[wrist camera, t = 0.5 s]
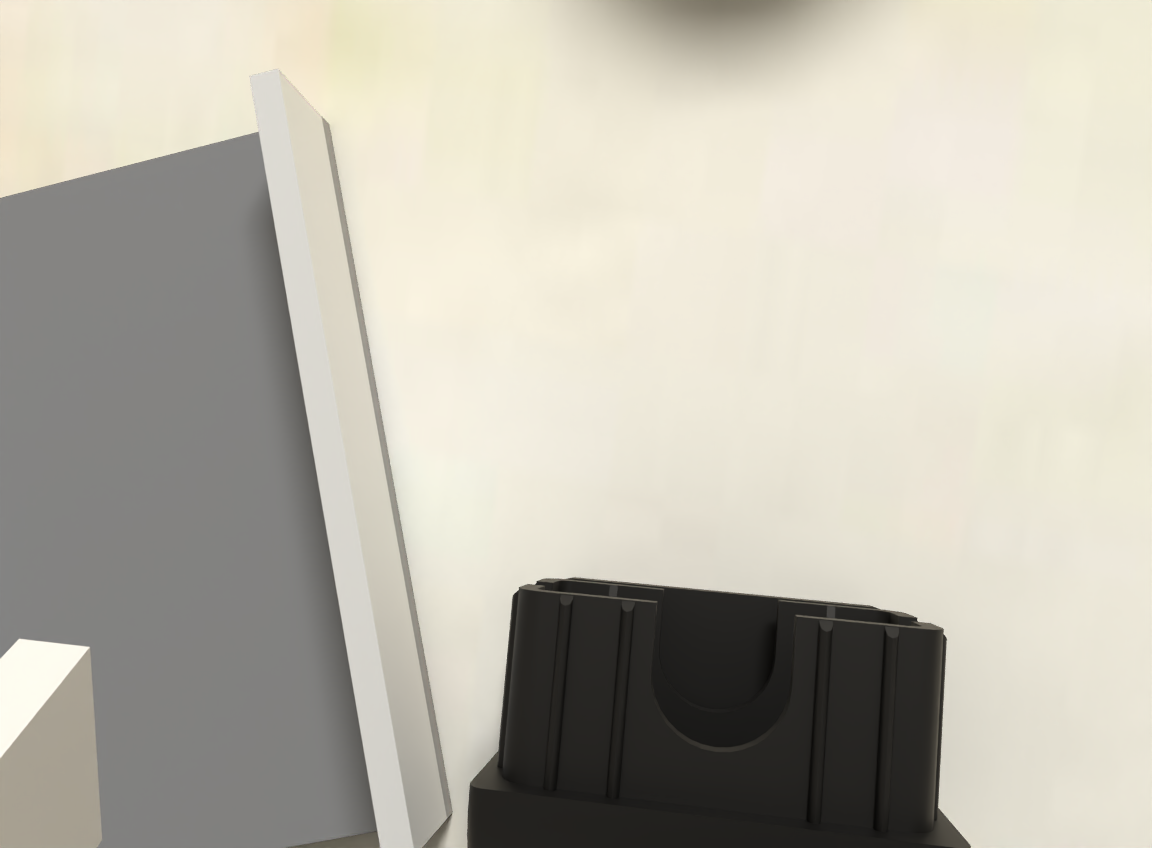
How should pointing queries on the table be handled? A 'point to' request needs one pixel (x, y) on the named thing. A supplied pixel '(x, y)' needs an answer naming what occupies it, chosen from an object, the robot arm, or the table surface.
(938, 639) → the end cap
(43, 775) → the robot arm
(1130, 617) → the table surface
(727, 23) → the table surface
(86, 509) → the slot rack
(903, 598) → the table surface
